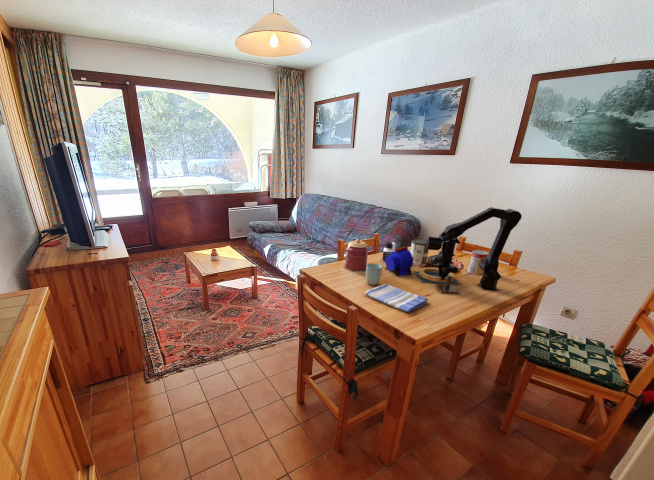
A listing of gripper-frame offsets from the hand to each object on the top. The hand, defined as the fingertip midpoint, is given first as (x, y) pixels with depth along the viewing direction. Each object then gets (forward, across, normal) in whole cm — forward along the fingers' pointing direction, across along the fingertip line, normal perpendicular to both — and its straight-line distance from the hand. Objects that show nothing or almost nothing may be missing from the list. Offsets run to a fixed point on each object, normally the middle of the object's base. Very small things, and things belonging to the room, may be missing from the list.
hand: (441, 279), depth 163 cm
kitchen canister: (+2, -20, -42) cm, 47 cm away
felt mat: (+2, -8, 0) cm, 8 cm away
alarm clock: (+2, -15, -19) cm, 24 cm away
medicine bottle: (+2, -35, -20) cm, 40 cm away
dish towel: (+2, +23, -28) cm, 36 cm away
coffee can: (+2, -32, -3) cm, 32 cm away
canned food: (+2, -20, +26) cm, 33 cm away
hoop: (+1, -8, 0) cm, 8 cm away
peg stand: (+2, +9, 0) cm, 9 cm away
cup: (+2, +5, -36) cm, 36 cm away
